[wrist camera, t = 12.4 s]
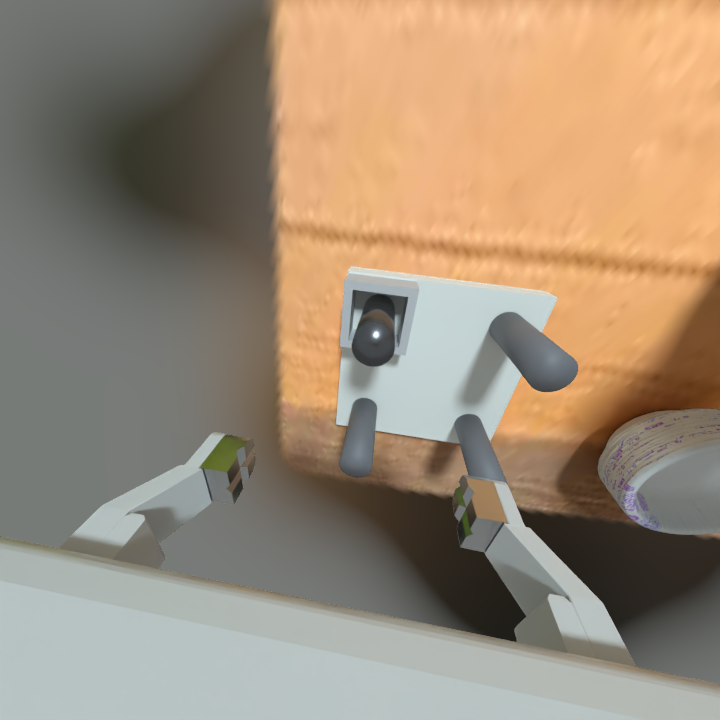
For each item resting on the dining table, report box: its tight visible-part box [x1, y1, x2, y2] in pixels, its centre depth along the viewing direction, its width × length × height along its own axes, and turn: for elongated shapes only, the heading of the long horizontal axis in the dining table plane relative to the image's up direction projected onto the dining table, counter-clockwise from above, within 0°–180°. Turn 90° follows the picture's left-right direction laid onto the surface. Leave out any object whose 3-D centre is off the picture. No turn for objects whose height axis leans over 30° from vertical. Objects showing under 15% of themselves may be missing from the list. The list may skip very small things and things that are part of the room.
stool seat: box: [336, 266, 578, 487], centre depth 28 cm, size 20×20×12 cm
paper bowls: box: [598, 408, 720, 535], centre depth 31 cm, size 15×15×8 cm
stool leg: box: [352, 294, 395, 367], centre depth 24 cm, size 3×3×9 cm
